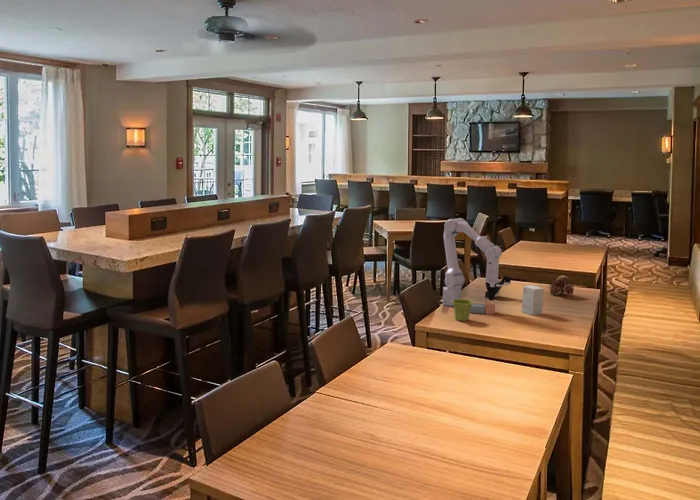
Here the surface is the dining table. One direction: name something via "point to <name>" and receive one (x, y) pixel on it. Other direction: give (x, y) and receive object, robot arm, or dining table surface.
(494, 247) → the robot arm
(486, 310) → the stub
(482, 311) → the slotted gray housing
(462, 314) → the plant pot
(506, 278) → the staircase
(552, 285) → the seed pod
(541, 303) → the small box
